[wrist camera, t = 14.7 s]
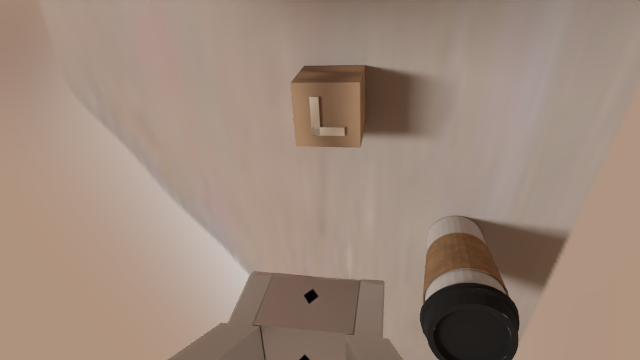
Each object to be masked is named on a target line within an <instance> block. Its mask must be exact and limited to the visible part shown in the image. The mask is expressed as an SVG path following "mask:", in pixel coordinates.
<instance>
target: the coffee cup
mask: <svg viewBox="0 0 640 360" xmlns="http://www.w3.org/2000/svg"><path fill="white" fill-rule="evenodd" d="M420 322H421V326H422V330H423V333H424V334H425V336H426V338H427V340H428V344H429V346H430V348H431V350H432V352H433V353H434V355H435V356H436V357H437V358H438V359H439V360H512V359H513V357H514V355H515V354H516V351H517V348H518V330H519V315H518V310H517V308H516V305H515V303H514V302H513V301H512V300H511V299H510V297H509V295H508V291H507V289H506V287H505V285H504V282H503V280H502V278H501V276H500V274H499V271H498V269H497V267H496V265H495V262H494V260H493V258H492V256H491V254H490V251H489V249H488V247H487V245H486V243H485V240H484V238H483V235H482V233H481V231H480V229H479V227H478V226H477V225H476V224H475V223H474V222H473V221H471V220H470V219H468V218H465V217H460V216H450V217H446V218H443V219H441V220H439V221H437V222H436V223H435V224H433V226H432V227H431V228H430V230H429V232H428V237H427V255H426V265H425V278H424V290H423V306H422V308H421V312H420Z"/></svg>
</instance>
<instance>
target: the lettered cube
mask: <svg viewBox="0 0 640 360" xmlns="http://www.w3.org/2000/svg"><path fill="white" fill-rule="evenodd" d="M291 91H292V103H293V114H294V126H295V138H296V146H317V147H361V143H362V138H363V133H364V129H365V124H366V117H365V65H337V66H304V67H303V68H302V69H301V71H300V72H299V73H298V74H297V76H296V77H295V78H294V79H293V81H292V82H291Z"/></svg>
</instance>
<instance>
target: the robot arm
mask: <svg viewBox="0 0 640 360" xmlns="http://www.w3.org/2000/svg"><path fill="white" fill-rule="evenodd" d="M383 316H384V281H380V280H355V279H340V278H325V277H313V276H302V275H292V274H282V273H268V272H257V271H254V272H253V273H252V274H251V275H250V276H249V278H248V280H247V282H246V285H245V287H244V289H243V291H242V293H241V295H240V298H239V300H238V302H237V304H236V306H235V309H234V311H233V313H232V315H231V317H230V319H229V322H228V323H220V324H219V325H217V326H216V327H214V328H213V329H212V330H210V331H209V332H207V333H206V334H204V335H203V336H201V337H200V338H199V339H197V340H196V341H194V342H193V343H191V344H190V345H189V346H187V347H186V348H184V349H183V350H181V351H180V352H178V353H177V354H175V355H174V356H173V357H171V358H170V359H168V360H403V359H402V357H401V356H400V354H399V353H398V351H397V350H396V349H395V347H394V346H393V344H392V343H391V342H390V340H389V339H385V338H383Z"/></svg>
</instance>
